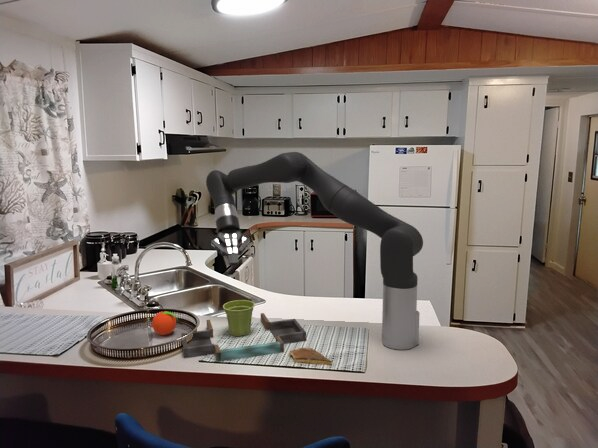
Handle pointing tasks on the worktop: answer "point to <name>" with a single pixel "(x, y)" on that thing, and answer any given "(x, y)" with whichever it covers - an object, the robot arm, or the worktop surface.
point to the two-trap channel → (280, 329)
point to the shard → (309, 356)
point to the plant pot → (239, 316)
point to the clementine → (164, 322)
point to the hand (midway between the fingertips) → (234, 265)
